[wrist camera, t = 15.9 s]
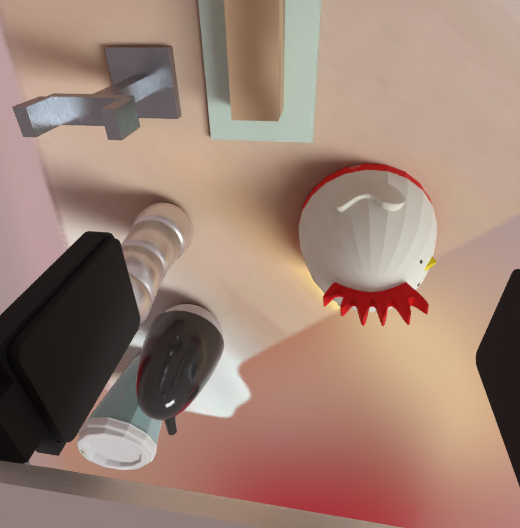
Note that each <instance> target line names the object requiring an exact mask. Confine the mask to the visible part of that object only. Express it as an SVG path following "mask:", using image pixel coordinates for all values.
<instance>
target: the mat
mask: <svg viewBox="0 0 520 528" xmlns="http://www.w3.org/2000/svg"><path fill="white" fill-rule="evenodd" d="M198 5H199V16H200V26H201V37H202V48H203V58H204V69H205V80H206V90H207V101H208V112H209V122H210V133H211V139H219V140H248V141H278V142H308V143H313V131H314V114H315V97H316V80H317V63H318V46H319V29H320V12H321V0H285V40H284V109H283V112H282V114H281V116H280V118H279V121H240V120H231V105H230V89H229V73H228V57H227V41H226V25H225V9H224V0H198Z"/></svg>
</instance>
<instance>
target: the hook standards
mask: <svg viewBox="0 0 520 528" xmlns="http://www.w3.org/2000/svg"><path fill="white" fill-rule="evenodd" d="M104 49H105V53H106V58H107V62H108V67H109V71H110V76H111V80H112V86H110V87H107V88H105V89H103V90H101V91H99V92H96V93H94V94H51V95H49V96H46V97H37V98H35V99H32V100H29V101H27V102H24V103H21V104H19V105H16V106H14V107H13V110H14V113H15V116H16V118H17V121H18V123H19V126H20V129H21V132H22V134H23V137H38V136H40V135H42V134H44V133H46V132H48V131H50V130H51V129H53V128H55V127H57V126H59V125H87V126H105V129H106V133H107V137H108V140H123V139H124V138H126V137H127V136H129V135H130V134H131V133H133V132H134V131H135V130H137V129H138V128H140V124H139V118H165V119H178V118H180V117H181V110H180V103H179V95H178V88H177V80H176V73H175V65H174V58H173V50H172V47H107V48H104Z"/></svg>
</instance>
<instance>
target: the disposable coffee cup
mask: <svg viewBox="0 0 520 528" xmlns="http://www.w3.org/2000/svg"><path fill="white" fill-rule="evenodd" d="M140 354H141V353H140ZM140 354H139V355H138V356H137V357H135V358H134V359H133V360H132V361H131V362H130V364H129V365H128V366H127V368H126V369H125V370H124V372H123V373H122V374H121V376H120V377H119V378H118V380H117V381H116V382H115V384H114V385H113V386H112V388H111V389H110V390H109V392H108V393H107V394H106V396H105V397H104V398H103V400H102V401H101V402H100V404H99V405H98V406H97V407H96V409H95V410H94V411H93V413H92V414H91V415H90V417H89V418H88V419H87V421H85V422H84V423H83V425H82V427H81V428H80V430H79V436H80V437H79V439H78V441H77V444H78V449H79V451H80V453H81V454H82V455H83V456H84V457H85V458H86V459H87V460H89V461H91V462H93V463H96V464H98V465H101V466H103V467H108V468H113V469H119V470H130V469H138V468H140V467H142V466H144V465H146V464H147V463H149V462H151V461H152V460H153V458H154V456H155V455H156V449H157V440H158V436H159V432H160V428H161V424H162V420H154V419H151V418H149V417H148V416H146V415H145V414H144V413H143V412H142V410H141V409H140V407H139V404H138V400H137V393H136V379H137V370H138V364H139V358H140Z"/></svg>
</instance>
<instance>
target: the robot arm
mask: <svg viewBox="0 0 520 528" xmlns="http://www.w3.org/2000/svg"><path fill="white" fill-rule="evenodd" d="M139 325H140V313H139V310H138V306H137V302H136V299H135V295H134V291H133V288H132V284H131V280H130V277H129V273H128V269H127V266H126V262H125V258H124V254H123V251H122V247H121V244H120V241H119V240H118V239H115V238H114V236H113V235H112V234H111V233H107V232H93V231H88V232H85V233H84V234H83V235H82V236H81V237H80V238H79V239H78V240H77V241H76V242H75V243H74V244H73V245H72V246H71V247H70V248H69V249H68V250H66V251H65V252H64V253H63V254H62V255H61V256H60V258H58V259H57V260H56V261H55V262H54V263H53V264H52V265H51V266H50V267H49V268H48V269H47V270H46V271H45V272H44V273H43V274H42V275H41V276H40V277H39V278H38V279H37V280H36V281H35V282H34V283H33V284H32V285H31V286H30V287H29V288H28V289H27V290H26V291H25V292H24V293H23V294H22V295H21V296H20V297H18V298H17V299H16V300H15V301H14V302H13V303H12V304H11V305H10V306H9V307H8V308H7V309H6V310H5V311H4V312H3V313H2V314H1V315H0V528H401V527H396V526H390V525H384V524H379V523H373V522H367V521H362V520H356V519H350V518H345V517H339V516H333V515H327V514H321V513H315V512H310V511H303V510H298V509H292V508H286V507H280V506H275V505H268V504H262V503H256V502H251V501H245V500H239V499H233V498H228V497H222V496H216V495H210V494H204V493H198V492H192V491H186V490H180V489H175V488H167V487H162V486H156V485H150V484H144V483H138V482H132V481H126V480H120V479H114V478H108V477H101V476H96V475H90V474H83V473H78V472H72V471H66V470H59V469H53V468H46V467H40V466H33V465H30V464H29V459H30V457H31V456H32V454H33V453H34V451H35V450H36V451H37V452H39V453H45V454H51V455H57V456H58V455H59V454H60V452H61V451H62V449H63V448H64V446H65V444H66V442H70V441H72V440H73V439H74V438H75V436H76V435H77V433H78V432H79V430H80V428H81V427H82V425H83V423H84V421H85V420H86V418H87V416H88V415H89V413H90V411H91V409H92V408H93V406H94V404H95V403H96V401H97V399H98V397H99V396H100V394H101V392H102V390H103V389H104V387H105V385H106V384H107V382H108V380H109V378H110V377H111V375H112V373H113V372H114V370H115V368H116V366H117V365H118V363H119V361H120V360H121V358H122V356H123V354H124V353H125V351H126V349H127V348H128V346H129V344H130V342H131V341H132V339H133V337H134V336H135V334H136V332H137V330H138V328H139ZM476 365H477V369H478V371H479V374H480V377H481V380H482V382H483V385H484V388H485V391H486V394H487V397H488V399H489V402H490V405H491V408H492V410H493V413H494V416H495V419H496V422H497V425H498V427H499V430H500V433H501V436H502V439H503V441H504V444H505V447H506V450H507V452H508V455H509V458H510V461H511V464H512V466H513V469H514V472H515V475H516V478H517V480H518V483H519V486H520V269H516V270H514V271H513V272H512V274H511V276H510V279H509V281H508V283H507V285H506V287H505V290H504V292H503V294H502V296H501V299H500V301H499V303H498V305H497V308H496V310H495V312H494V314H493V316H492V319H491V321H490V323H489V326H488V328H487V330H486V332H485V334H484V337H483V339H482V341H481V343H480V345H479V348H478V350H477V353H476Z"/></svg>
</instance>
